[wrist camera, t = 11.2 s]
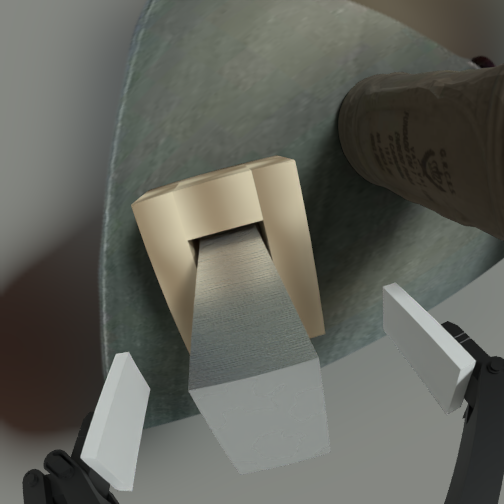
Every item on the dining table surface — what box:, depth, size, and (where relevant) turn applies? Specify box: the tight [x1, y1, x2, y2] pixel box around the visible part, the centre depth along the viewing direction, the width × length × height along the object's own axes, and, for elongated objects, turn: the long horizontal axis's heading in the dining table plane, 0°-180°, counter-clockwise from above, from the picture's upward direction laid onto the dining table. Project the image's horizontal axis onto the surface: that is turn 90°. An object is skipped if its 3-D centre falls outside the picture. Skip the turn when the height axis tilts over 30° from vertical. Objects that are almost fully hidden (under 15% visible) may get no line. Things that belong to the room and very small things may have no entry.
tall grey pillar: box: [188, 223, 331, 475], centre depth 18 cm, size 4×6×18 cm, turn 14°
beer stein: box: [338, 63, 504, 241], centre depth 16 cm, size 15×11×20 cm
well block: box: [131, 155, 325, 354], centre depth 25 cm, size 11×14×6 cm
